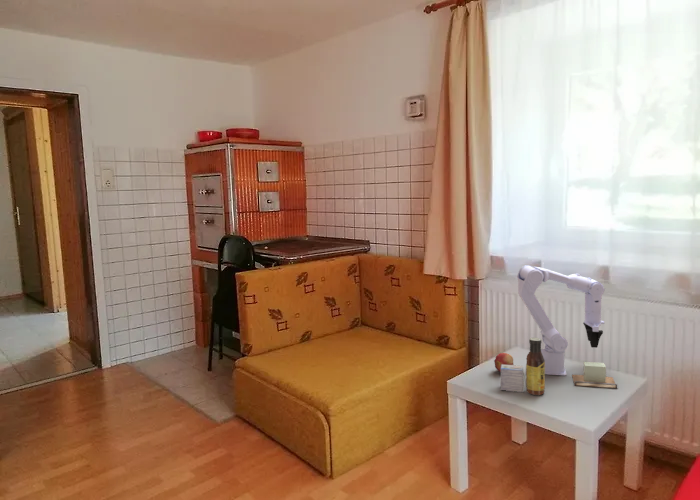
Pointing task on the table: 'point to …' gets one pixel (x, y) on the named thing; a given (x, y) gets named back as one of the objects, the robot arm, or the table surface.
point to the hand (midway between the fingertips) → (592, 343)
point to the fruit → (503, 360)
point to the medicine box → (512, 378)
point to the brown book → (581, 382)
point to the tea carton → (594, 372)
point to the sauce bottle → (535, 368)
